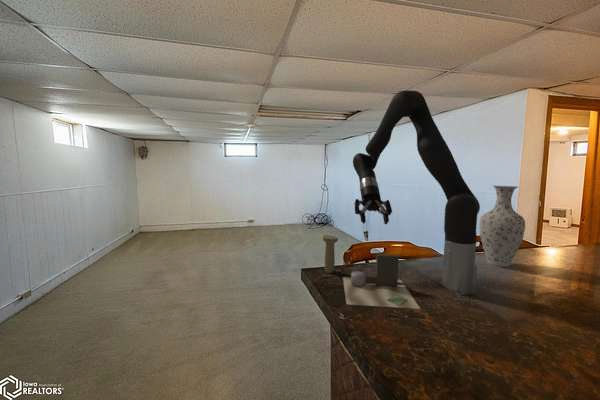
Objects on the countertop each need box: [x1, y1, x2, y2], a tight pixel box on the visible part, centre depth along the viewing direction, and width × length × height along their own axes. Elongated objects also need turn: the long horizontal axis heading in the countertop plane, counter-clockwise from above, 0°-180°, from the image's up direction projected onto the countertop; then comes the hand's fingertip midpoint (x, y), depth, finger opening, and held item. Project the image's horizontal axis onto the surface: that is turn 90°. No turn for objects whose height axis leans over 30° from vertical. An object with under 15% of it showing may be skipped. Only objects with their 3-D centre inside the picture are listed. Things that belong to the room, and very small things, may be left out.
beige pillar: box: [322, 234, 339, 274], centre depth 105 cm, size 5×6×15 cm
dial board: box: [342, 276, 421, 310], centre depth 89 cm, size 21×21×1 cm
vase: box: [479, 185, 526, 268], centre depth 118 cm, size 16×16×35 cm
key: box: [350, 254, 410, 286], centre depth 93 cm, size 20×5×10 cm, turn 84°
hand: (375, 222), depth 104 cm, fingers open, 8 cm apart
